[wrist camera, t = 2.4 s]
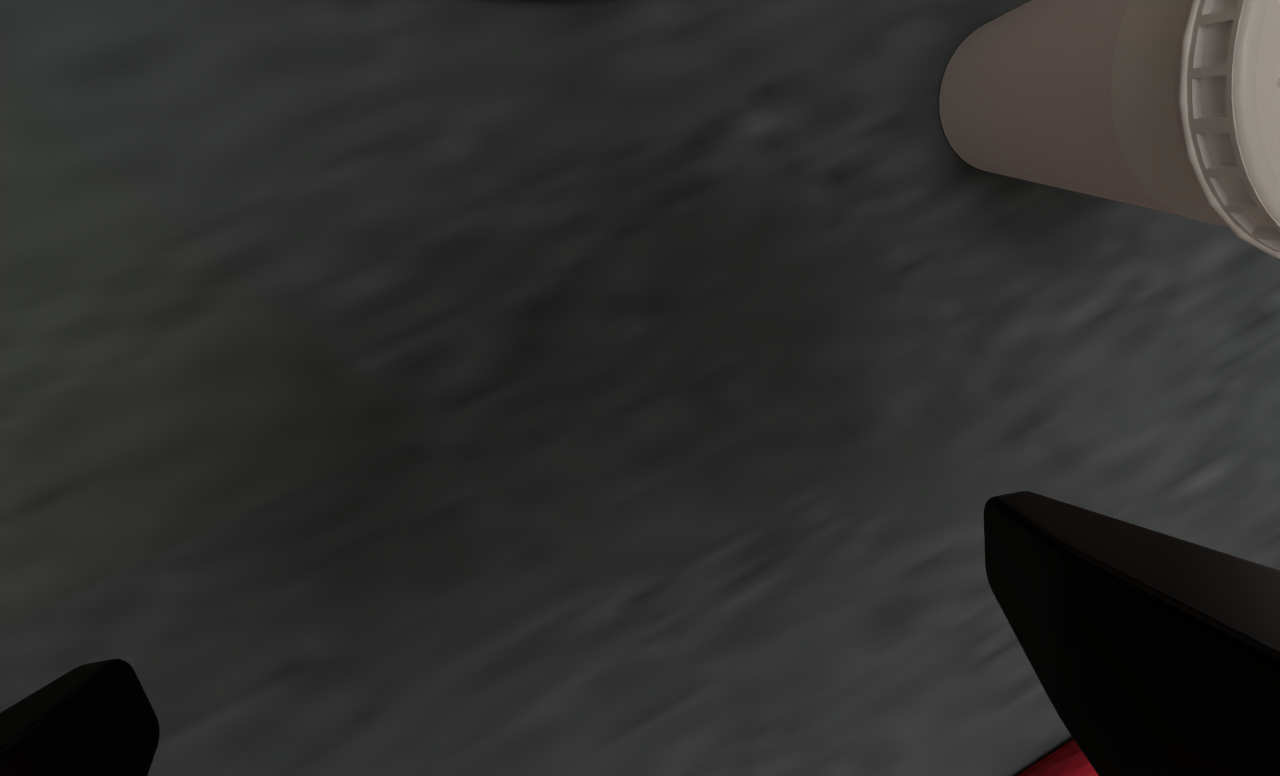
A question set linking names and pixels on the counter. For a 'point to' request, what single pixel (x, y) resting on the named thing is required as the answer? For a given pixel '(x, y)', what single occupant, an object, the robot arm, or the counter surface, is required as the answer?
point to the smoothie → (1129, 105)
